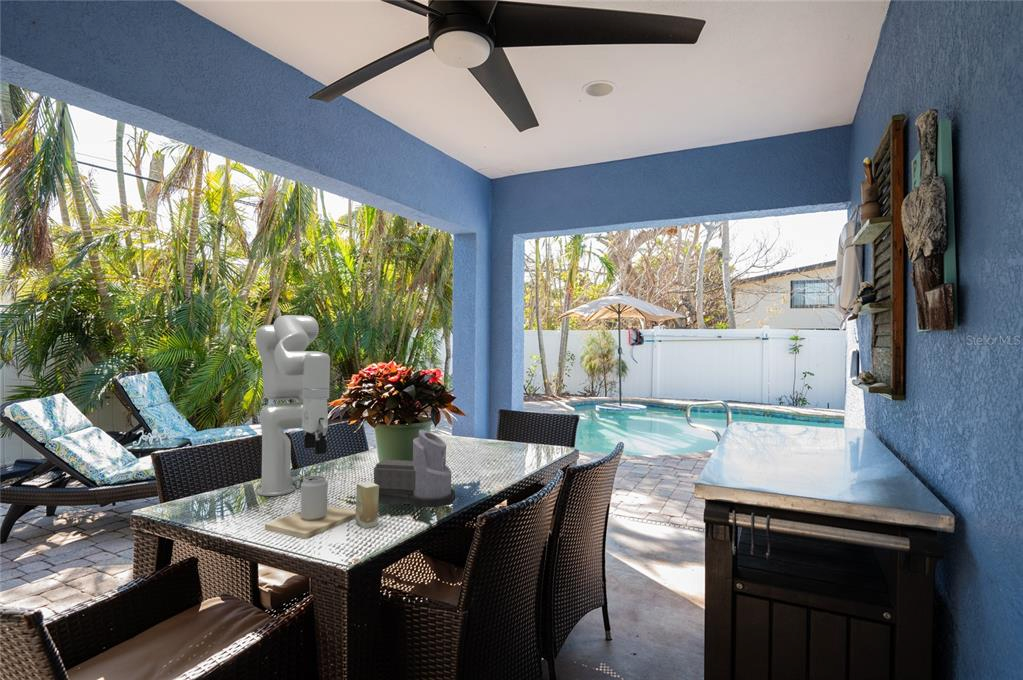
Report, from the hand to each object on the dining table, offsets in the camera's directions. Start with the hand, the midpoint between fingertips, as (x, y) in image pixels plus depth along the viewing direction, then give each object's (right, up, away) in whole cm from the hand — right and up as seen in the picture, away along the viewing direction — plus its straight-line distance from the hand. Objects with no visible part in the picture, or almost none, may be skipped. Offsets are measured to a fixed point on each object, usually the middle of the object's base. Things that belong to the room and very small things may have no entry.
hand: (315, 450), depth 163 cm
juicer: (+26, -22, +24) cm, 42 cm away
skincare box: (+16, -22, -1) cm, 27 cm away
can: (0, -20, 0) cm, 20 cm away
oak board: (0, -22, 0) cm, 22 cm away
